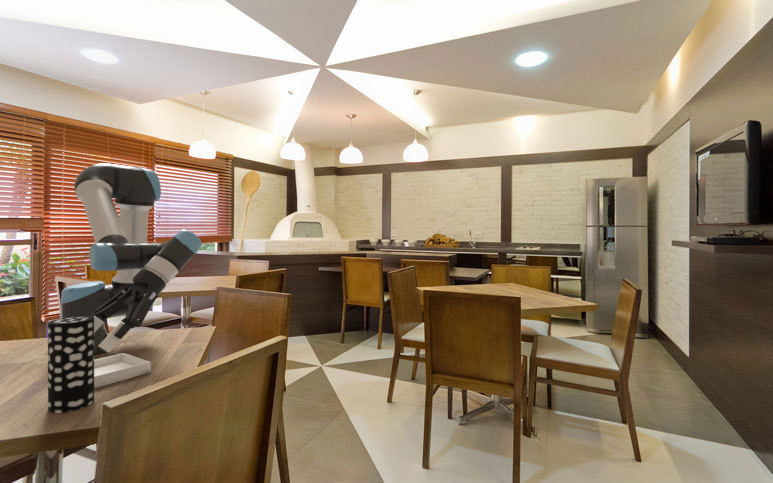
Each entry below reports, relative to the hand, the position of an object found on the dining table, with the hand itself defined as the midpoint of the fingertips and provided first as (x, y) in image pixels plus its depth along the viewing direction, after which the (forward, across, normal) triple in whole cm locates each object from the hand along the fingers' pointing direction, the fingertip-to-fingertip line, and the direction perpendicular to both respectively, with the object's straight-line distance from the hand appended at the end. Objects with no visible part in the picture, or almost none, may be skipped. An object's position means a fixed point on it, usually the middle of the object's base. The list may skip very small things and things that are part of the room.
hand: (90, 345), depth 90 cm
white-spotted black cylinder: (+12, +1, -7) cm, 14 cm away
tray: (+2, +16, -16) cm, 23 cm away
